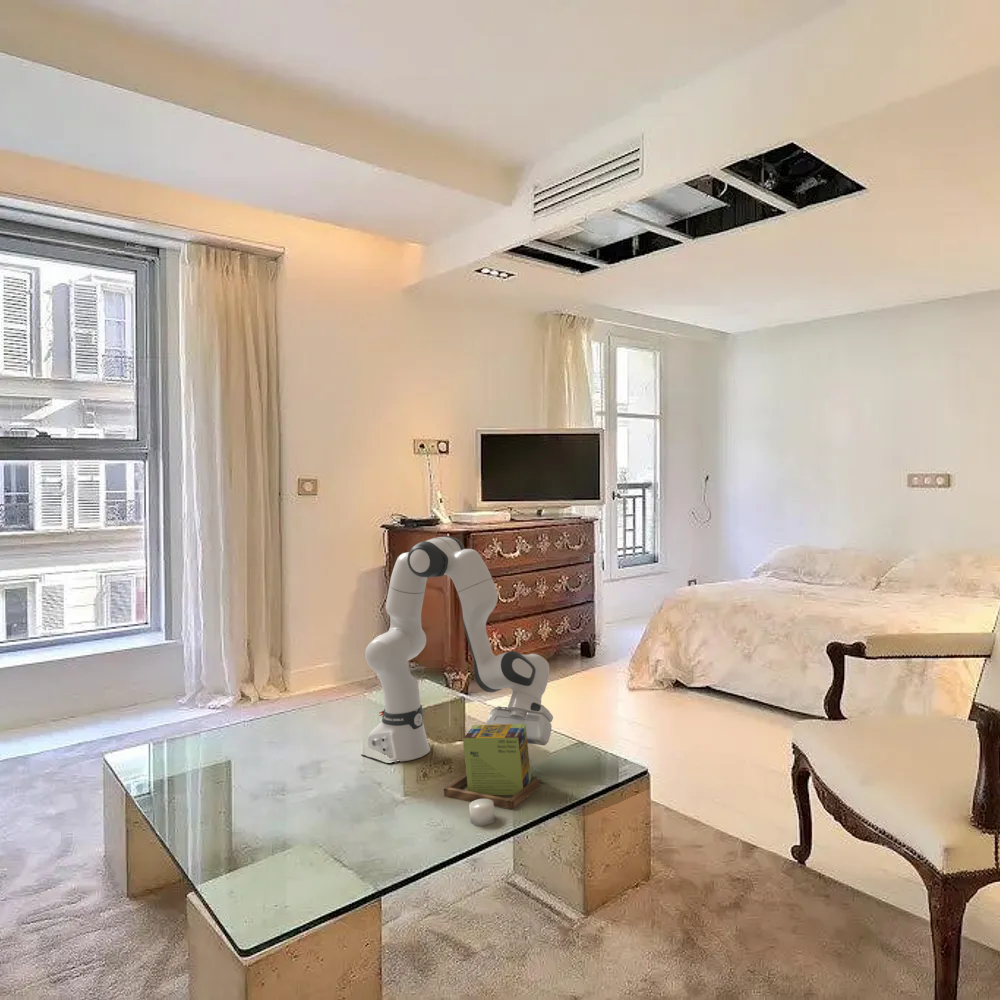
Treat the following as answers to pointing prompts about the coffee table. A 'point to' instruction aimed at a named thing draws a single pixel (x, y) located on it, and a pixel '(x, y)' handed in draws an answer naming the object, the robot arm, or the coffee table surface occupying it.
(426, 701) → the coffee table surface
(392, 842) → the coffee table surface
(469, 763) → the protein box
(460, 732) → the coffee table surface
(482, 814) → the white rounded block
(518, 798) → the open wooden frame
